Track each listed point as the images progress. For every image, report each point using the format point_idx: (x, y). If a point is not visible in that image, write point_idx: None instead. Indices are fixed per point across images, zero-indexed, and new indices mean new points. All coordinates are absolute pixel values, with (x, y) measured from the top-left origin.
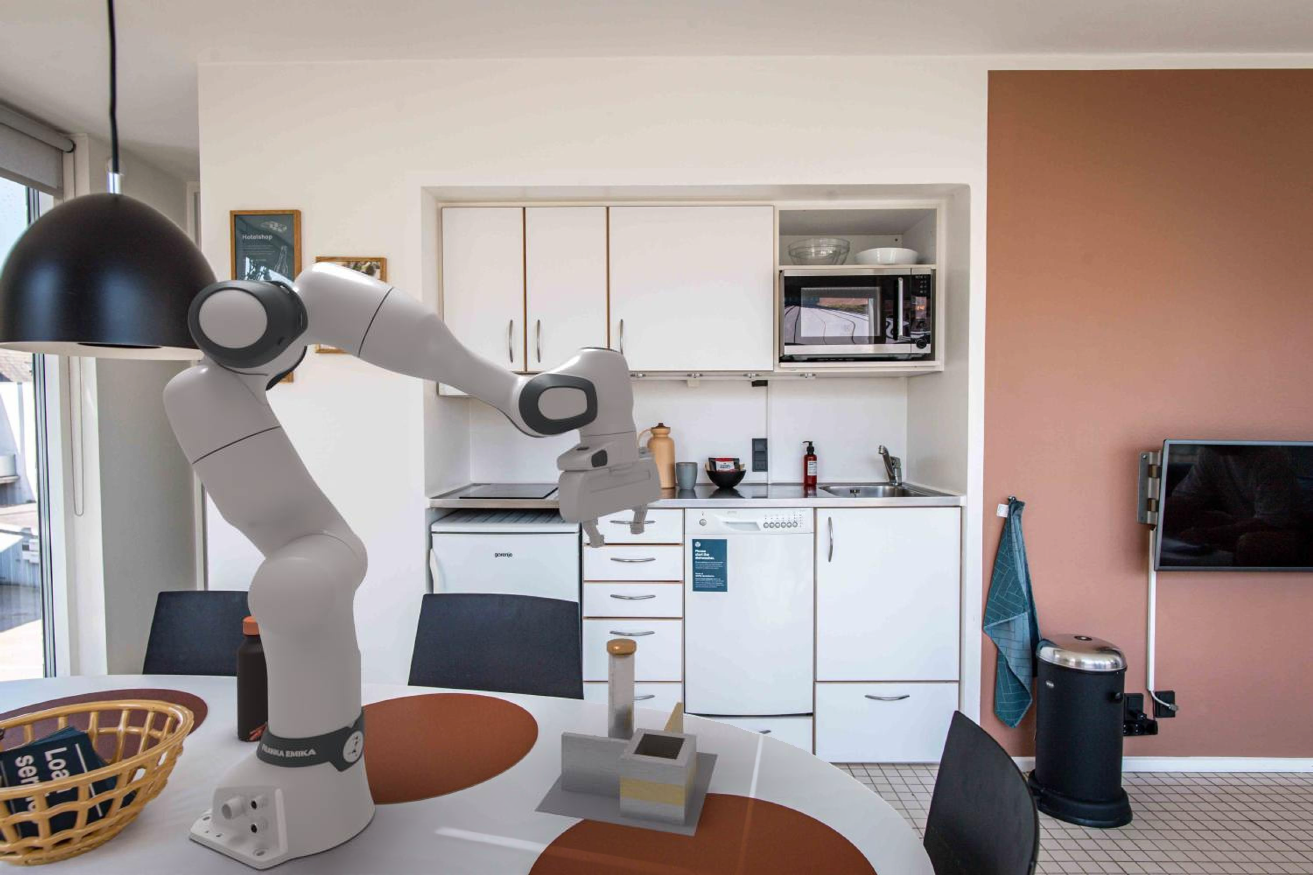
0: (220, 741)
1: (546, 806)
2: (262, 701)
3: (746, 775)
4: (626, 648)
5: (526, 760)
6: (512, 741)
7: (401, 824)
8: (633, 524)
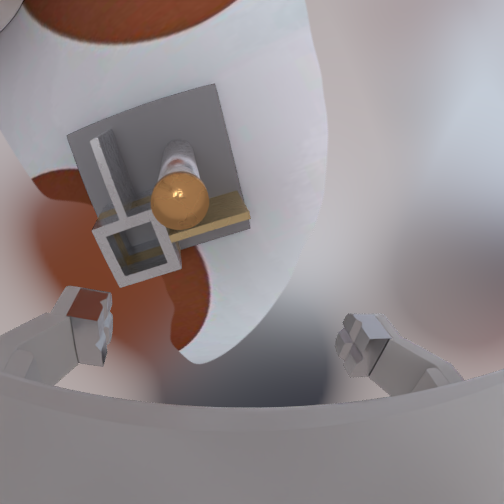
0: None
1: (76, 139)
2: None
3: (238, 256)
4: (162, 224)
5: (148, 47)
6: (178, 5)
7: (11, 49)
8: (361, 352)
